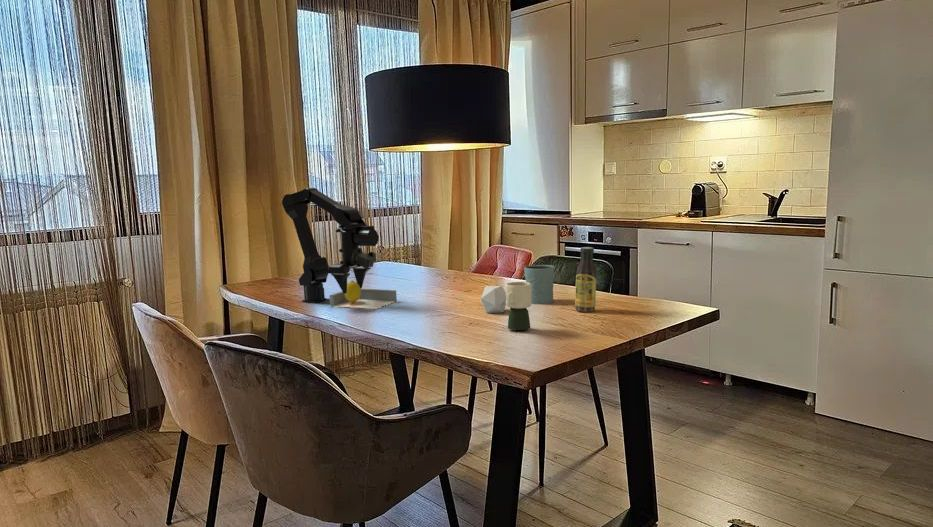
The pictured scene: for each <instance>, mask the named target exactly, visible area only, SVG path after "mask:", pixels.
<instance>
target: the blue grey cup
mask: <svg viewBox="0 0 933 527" xmlns="http://www.w3.org/2000/svg"><path fill="white" fill-rule="evenodd" d="M523 271H524V279H525V282H528V283H531V305H548V304H552V303H553V302H554V282H555V281H554V280H555V278H554V277H555V266H554V265H551V264H533V265H526V266H524V267H523Z"/></svg>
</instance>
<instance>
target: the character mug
mask: <svg viewBox="0 0 933 527" xmlns="http://www.w3.org/2000/svg"><path fill="white" fill-rule="evenodd" d="M504 286H505V289H504V291H505V293H506V307H508V308H509V309H510V310H509V313H508V320H507V321H508V322H507V329H509V330H515V332H517V331H518V330H519V331H520V330H521V331H524V330H529V329H531V320H530V315H529V309H528V308H529V307H531V306H532V304H531V283H528V282H526V281H510V282H506V283H505V284H504Z"/></svg>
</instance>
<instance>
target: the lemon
mask: <svg viewBox="0 0 933 527" xmlns="http://www.w3.org/2000/svg"><path fill="white" fill-rule="evenodd" d="M360 295H361V290H360V286H359V285H358V283H357V282H356V281H354V280H350V281H349V282H347V293H345V297H346V299H347V300H348V301H350V302H352V303H355V301H357V300H358V299H359V298H360Z"/></svg>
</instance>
